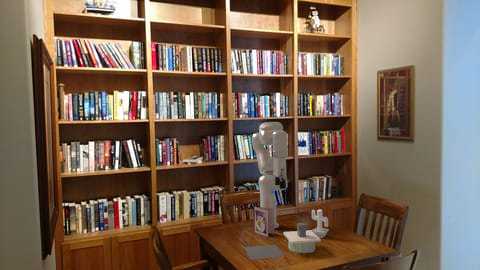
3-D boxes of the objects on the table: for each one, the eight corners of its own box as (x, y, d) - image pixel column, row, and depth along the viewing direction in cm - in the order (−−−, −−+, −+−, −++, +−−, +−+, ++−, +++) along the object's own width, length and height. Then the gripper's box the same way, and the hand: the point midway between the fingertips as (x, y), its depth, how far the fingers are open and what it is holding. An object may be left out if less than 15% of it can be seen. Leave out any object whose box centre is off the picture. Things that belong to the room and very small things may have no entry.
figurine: (324, 239, 206) (324, 212, 205) (309, 236, 212) (309, 210, 211) (330, 236, 212) (330, 209, 211) (315, 233, 218) (315, 207, 217)
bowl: (285, 245, 198) (285, 234, 198) (309, 243, 200) (309, 232, 200) (293, 254, 185) (293, 242, 185) (318, 252, 187) (318, 241, 187)
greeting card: (253, 232, 221) (253, 207, 220) (263, 230, 225) (263, 205, 224) (266, 237, 212) (266, 211, 211) (276, 234, 216) (276, 208, 215)
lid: (283, 233, 199) (283, 220, 198) (310, 232, 201) (310, 219, 201) (291, 243, 184) (291, 229, 184) (321, 241, 186) (321, 227, 186)
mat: (244, 247, 196) (244, 247, 196) (276, 245, 198) (276, 244, 198) (249, 260, 179) (249, 259, 179) (284, 257, 182) (284, 256, 182)
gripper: (269, 153, 208) (269, 184, 209) (277, 156, 191) (277, 190, 192) (282, 152, 209) (283, 183, 210) (291, 156, 192) (291, 189, 193)
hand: (280, 186), depth 201 cm, fingers open, 9 cm apart
